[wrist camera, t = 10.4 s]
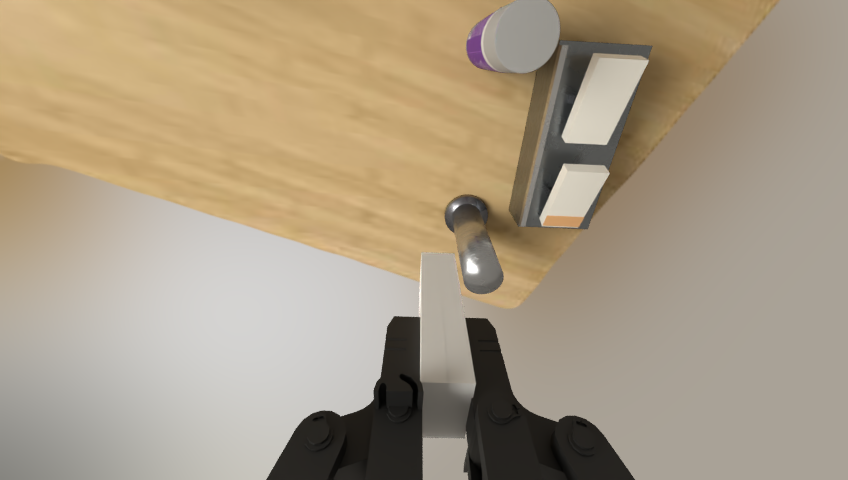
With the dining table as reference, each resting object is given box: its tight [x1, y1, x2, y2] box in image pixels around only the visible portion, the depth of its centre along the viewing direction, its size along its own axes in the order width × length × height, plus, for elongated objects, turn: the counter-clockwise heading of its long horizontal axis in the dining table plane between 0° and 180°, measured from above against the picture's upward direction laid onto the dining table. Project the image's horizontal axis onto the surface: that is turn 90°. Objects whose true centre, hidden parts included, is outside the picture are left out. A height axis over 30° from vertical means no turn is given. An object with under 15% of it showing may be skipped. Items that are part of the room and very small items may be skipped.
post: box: [445, 195, 503, 294], centre depth 38 cm, size 6×6×15 cm
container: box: [466, 0, 560, 73], centre depth 28 cm, size 5×5×15 cm
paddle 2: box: [539, 164, 610, 228], centre depth 35 cm, size 8×4×2 cm, turn 176°
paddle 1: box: [561, 53, 649, 145], centre depth 30 cm, size 8×4×1 cm, turn 176°
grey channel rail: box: [509, 40, 652, 229], centre depth 36 cm, size 20×9×6 cm, turn 177°
